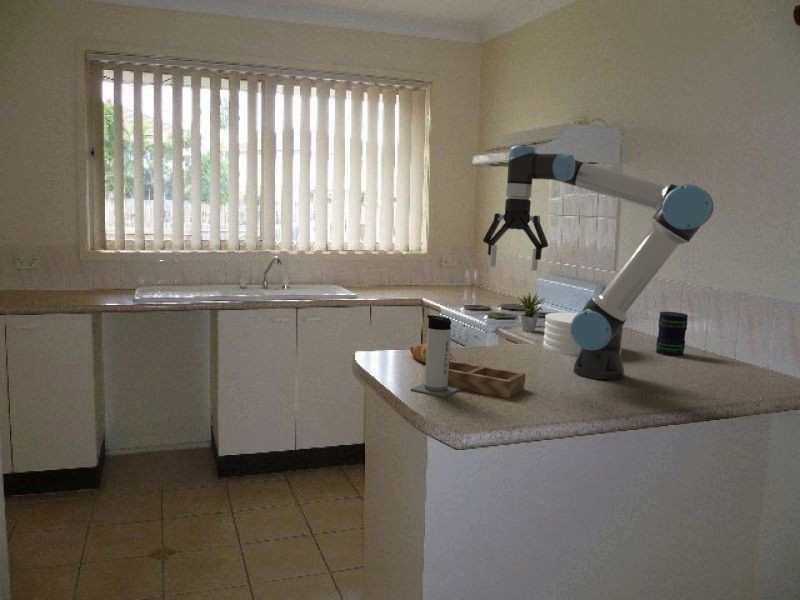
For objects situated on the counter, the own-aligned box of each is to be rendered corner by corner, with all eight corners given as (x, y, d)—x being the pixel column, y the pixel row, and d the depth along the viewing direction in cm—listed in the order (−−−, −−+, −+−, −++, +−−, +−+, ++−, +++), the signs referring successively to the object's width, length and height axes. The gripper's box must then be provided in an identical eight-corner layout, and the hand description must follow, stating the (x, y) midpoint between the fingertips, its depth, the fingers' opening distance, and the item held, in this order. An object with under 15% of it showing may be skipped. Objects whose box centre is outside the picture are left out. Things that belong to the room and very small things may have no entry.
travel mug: (421, 385, 193) (425, 313, 190) (445, 385, 193) (449, 314, 191) (424, 391, 187) (428, 317, 184) (449, 391, 187) (453, 318, 184)
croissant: (461, 379, 218) (471, 355, 220) (441, 367, 212) (452, 343, 213) (415, 363, 234) (425, 342, 236) (396, 352, 228) (406, 330, 229)
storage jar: (654, 354, 256) (659, 314, 254) (655, 349, 265) (659, 310, 263) (683, 358, 253) (688, 317, 250) (684, 353, 262) (688, 313, 260)
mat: (460, 389, 192) (460, 388, 192) (443, 397, 183) (443, 395, 183) (428, 383, 197) (428, 381, 197) (410, 390, 188) (410, 388, 188)
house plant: (544, 335, 282) (548, 295, 279) (510, 332, 285) (513, 292, 283) (547, 330, 295) (550, 291, 293) (514, 327, 299) (517, 289, 297)
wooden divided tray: (524, 389, 196) (525, 373, 196) (508, 398, 186) (509, 381, 185) (444, 374, 209) (445, 359, 208) (425, 381, 199) (426, 366, 198)
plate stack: (636, 357, 250) (639, 325, 248) (565, 357, 243) (567, 325, 241) (595, 341, 277) (598, 312, 275) (530, 341, 269) (532, 312, 268)
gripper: (562, 200, 209) (556, 271, 212) (485, 197, 222) (480, 264, 224) (554, 199, 203) (548, 272, 206) (475, 196, 215) (470, 265, 218)
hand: (513, 268), depth 215 cm, fingers open, 13 cm apart
